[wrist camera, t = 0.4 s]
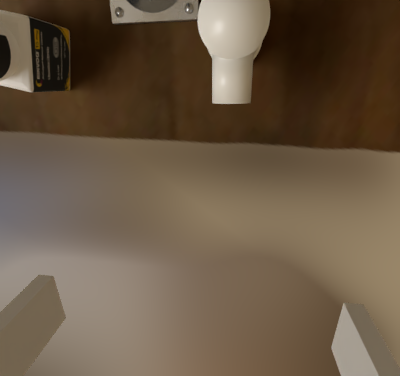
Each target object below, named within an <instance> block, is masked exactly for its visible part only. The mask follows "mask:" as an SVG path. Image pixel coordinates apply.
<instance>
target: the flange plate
mask: <svg viewBox="0 0 400 376" xmlns="http://www.w3.org/2000/svg"><path fill="white" fill-rule="evenodd" d="M110 8H111V16H112V23H113V24H115V25H122V24H142V23H163V22H183V21H198V11H199V0H110Z"/></svg>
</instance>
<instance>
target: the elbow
mask: <svg viewBox="0 0 400 376" xmlns="http://www.w3.org/2000/svg"><path fill="white" fill-rule="evenodd" d="M269 23H270V4H269V0H202V1H201V3H200V7H199V11H198V28H199V33H200V36H201V38H202V41H203V42H204V44H205V45H206V47H207V48H208V51H209V53H210V55H211V57H212V103H217V104H243V103H251V87H252V70H253V60H254V58H255V57H256V56H257V54H258V52H259V51H260V48H261V45H262V41H263V39H264V37H265V35H266V33H267V30H268V27H269Z"/></svg>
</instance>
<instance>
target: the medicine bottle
mask: <svg viewBox="0 0 400 376" xmlns="http://www.w3.org/2000/svg"><path fill="white" fill-rule="evenodd" d="M0 85H2V86H6V87H10V88H15V89H19V90H23V91H28V92H48V91H69V90H70V31H69V30H68V29H66V28H63V27H60V26H57V25H54V24H51V23H48V22H45V21H42V20H39V19H36V18H32V17H29V16H26V15H22V14H17V13H13V12H8V11H3V10H0Z"/></svg>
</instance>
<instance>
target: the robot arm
mask: <svg viewBox="0 0 400 376" xmlns="http://www.w3.org/2000/svg"><path fill="white" fill-rule="evenodd" d="M65 318H66V317H65V313H64V310H63V307H62V304H61V300H60V297H59V293H58V290H57V287H56V283H55V280H54V277H53V276H45V275H38V276H37V277H36V278H35V279H34V280H33V281H32V282H31V283H30V284H29V285H28V286H27V287H26V288H25V289H24V290H23V291H22V292H21V293H20V294H19V295H18V296H17V297H16V298H15V299H13V300H12V301H11V303H9V304H8V305H7V306H6V307H5V308H4V309H3V310H2V311H1V312H0V376H24V374H25V373H26V372H27V370H28V369H29V368H30V366H31V365H32V363H33V362H34V361H35V359H36V358H37V357H38V355H39V354H40V352H41V351H42V350H43V348H44V347H45V346H46V344H47V343H48V342H49V340H50V339H51V337H52V336H53V335H54V333H55V332H56V331H57V329H58V328H59V326H60V325H61V324H62V322H63V321H64V319H65ZM332 351H333V354H334V357H335V360H336V363H337V365H338V368H339V371H340V374H341V376H400V368H399V366H398V364H397V362H396V361H395V359H394V357H393V356H392V354H391V352H390V350H389V348H388V347H387V345H386V343H385V341H384V340H383V338H382V336H381V334H380V333H379V331H378V329H377V327H376V326H375V324H374V322H373V320H372V319H371V317H370V315H369V313H368V311H367V310H366V308H365V306H364V305H362V304H351V303H344V304H343V308H342V311H341V315H340V318H339V322H338V326H337V329H336V333H335V337H334V340H333V344H332Z"/></svg>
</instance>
